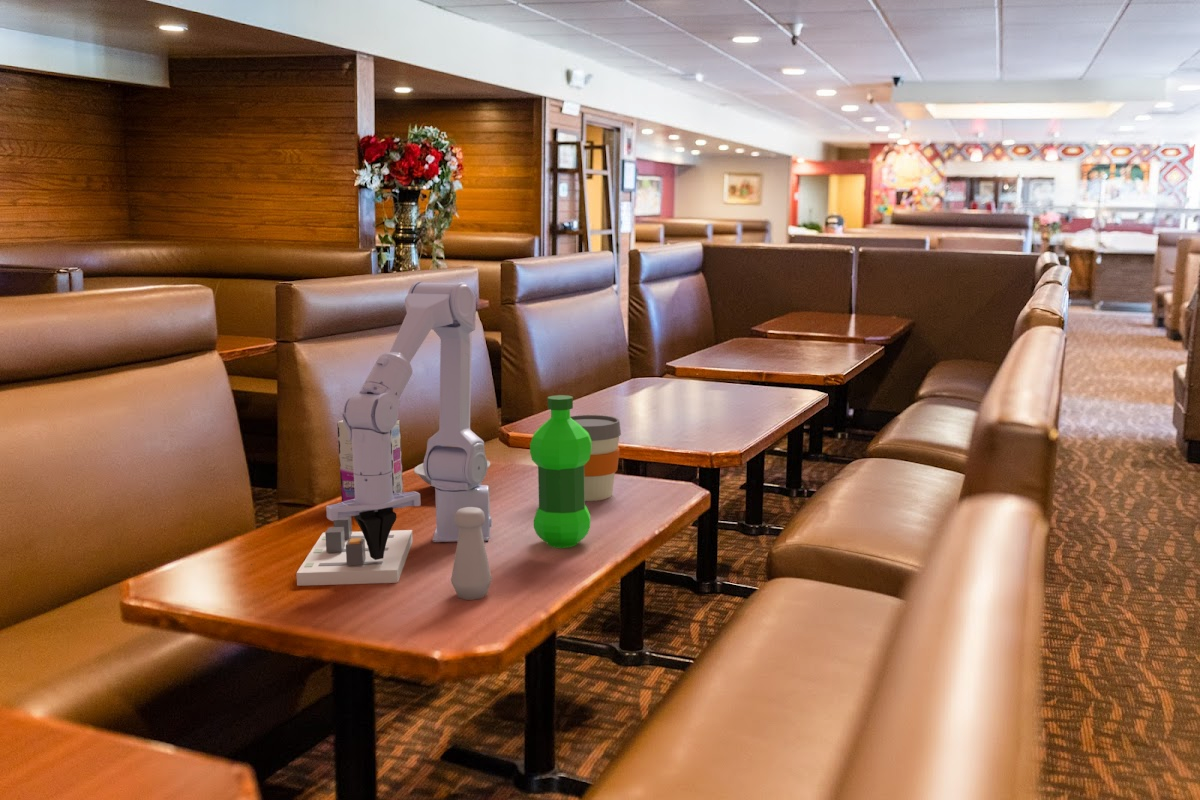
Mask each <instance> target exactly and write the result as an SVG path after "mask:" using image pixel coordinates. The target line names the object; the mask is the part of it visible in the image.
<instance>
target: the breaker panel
mask: <svg viewBox="0 0 1200 800" xmlns="http://www.w3.org/2000/svg"><path fill="white" fill-rule="evenodd" d="M325 532H326V531H325ZM325 532H324V531H323V532H322V533H321V535H320V537H319V538H318V539H317V541H316V543H315V544H314V545H313V547H312V549H311V550H310V552H309V553H308V554H307V556H306V558H305V560H304V561H303V563H302V564H301V565H300V567H299V568H298V570H297V572H296V585H297V586H326V585H327V586H328V585H329V586H330V585H332V586H333V585H361V584H362V585H365V584H367V585H368V584H391V583H392V584H393V583H394V584H396V583H399V580H400V579H401V578H400V577H401V575H402V572H403V569H404V566H405V564H406V561H407V558H408V555H409V553H410V549H411V547H412V544H413V542H414V541H413V539H414V538H413V529H405V530H404V529H401V530H400V529H399V530H398V529H397V530H391V531H390V533H389V536H388V539H387V542H386V546H385V551H384V557H383V558H382V559H378V560H375V559H373V558H371V557H370V553H369V549H368V545H367V542H366V540H365V555H366V559H365V561H364V563H363V565H347V559H346V544H347V542H348V540H349V539H351V538H362V539H365V537H364V535H363V533H362V530H360V531H352V534H351V536H350V538H349V539H345V547H344V549H343V550H342V552H326V535H325Z"/></svg>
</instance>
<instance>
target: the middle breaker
mask: <svg viewBox="0 0 1200 800" xmlns="http://www.w3.org/2000/svg"><path fill="white" fill-rule="evenodd" d="M325 535H326V552H342V550H343V549H344V547H345V537H344V527H334V526H328V528H327V530H325Z"/></svg>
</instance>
